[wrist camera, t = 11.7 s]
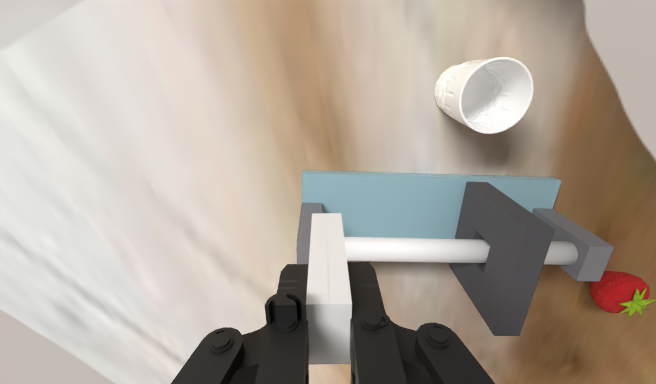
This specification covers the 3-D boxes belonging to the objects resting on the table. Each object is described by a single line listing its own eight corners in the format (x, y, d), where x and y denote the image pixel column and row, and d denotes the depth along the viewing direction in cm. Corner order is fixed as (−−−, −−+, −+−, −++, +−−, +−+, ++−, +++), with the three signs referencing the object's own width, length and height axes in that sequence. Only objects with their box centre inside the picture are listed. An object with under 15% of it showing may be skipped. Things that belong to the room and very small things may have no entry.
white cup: (493, 104, 44) (540, 115, 35) (439, 128, 45) (470, 145, 36) (479, 47, 42) (525, 43, 32) (421, 74, 43) (450, 77, 33)
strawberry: (567, 269, 55) (617, 311, 46) (612, 250, 54) (673, 289, 44) (574, 293, 57) (624, 338, 48) (618, 276, 56) (678, 318, 46)
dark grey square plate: (449, 265, 50) (494, 335, 37) (466, 181, 45) (526, 229, 32) (467, 265, 50) (519, 335, 37) (487, 182, 45) (555, 229, 32)
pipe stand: (301, 252, 52) (296, 305, 41) (302, 170, 47) (297, 205, 36) (529, 256, 54) (587, 309, 42) (554, 177, 48) (628, 213, 37)
